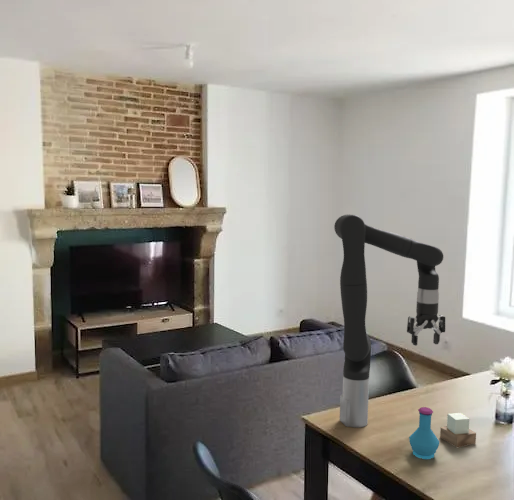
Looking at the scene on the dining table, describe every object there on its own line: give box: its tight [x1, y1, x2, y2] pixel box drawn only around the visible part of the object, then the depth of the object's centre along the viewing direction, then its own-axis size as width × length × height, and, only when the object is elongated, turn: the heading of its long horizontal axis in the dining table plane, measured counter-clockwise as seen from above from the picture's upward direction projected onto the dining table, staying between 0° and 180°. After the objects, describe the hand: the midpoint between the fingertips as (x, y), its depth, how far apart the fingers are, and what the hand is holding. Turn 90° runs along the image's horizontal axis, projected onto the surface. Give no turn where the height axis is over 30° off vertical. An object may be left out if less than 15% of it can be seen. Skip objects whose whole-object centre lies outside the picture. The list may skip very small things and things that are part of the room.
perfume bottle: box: [408, 406, 440, 460], centre depth 178 cm, size 9×9×15 cm
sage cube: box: [446, 412, 470, 434], centre depth 188 cm, size 5×5×5 cm
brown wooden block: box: [439, 425, 477, 448], centre depth 189 cm, size 8×8×4 cm
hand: (425, 344), depth 203 cm, fingers open, 8 cm apart
